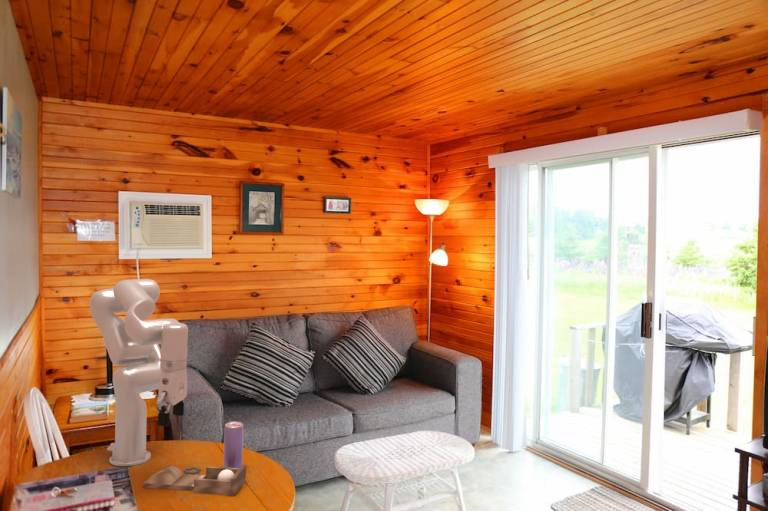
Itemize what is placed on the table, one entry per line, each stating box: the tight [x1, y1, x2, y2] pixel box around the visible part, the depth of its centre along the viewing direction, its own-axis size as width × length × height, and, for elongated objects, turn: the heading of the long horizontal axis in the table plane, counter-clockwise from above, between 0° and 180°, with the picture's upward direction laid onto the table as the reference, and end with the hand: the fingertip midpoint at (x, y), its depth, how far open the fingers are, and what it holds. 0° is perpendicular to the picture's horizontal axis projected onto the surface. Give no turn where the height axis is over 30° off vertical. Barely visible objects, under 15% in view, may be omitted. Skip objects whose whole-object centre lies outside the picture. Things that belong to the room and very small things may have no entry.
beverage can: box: [222, 421, 244, 468], centre depth 183 cm, size 6×6×15 cm
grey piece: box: [183, 466, 202, 475], centre depth 182 cm, size 5×5×1 cm
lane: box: [142, 465, 247, 497], centre depth 172 cm, size 28×10×9 cm, turn 85°
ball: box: [217, 469, 234, 480], centre depth 171 cm, size 5×5×5 cm
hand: (171, 420), depth 172 cm, fingers open, 9 cm apart
